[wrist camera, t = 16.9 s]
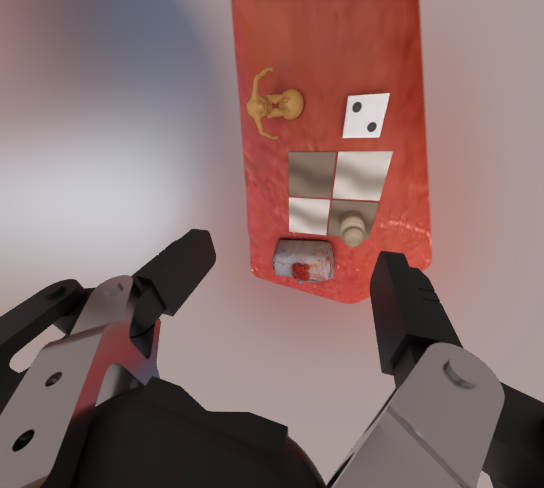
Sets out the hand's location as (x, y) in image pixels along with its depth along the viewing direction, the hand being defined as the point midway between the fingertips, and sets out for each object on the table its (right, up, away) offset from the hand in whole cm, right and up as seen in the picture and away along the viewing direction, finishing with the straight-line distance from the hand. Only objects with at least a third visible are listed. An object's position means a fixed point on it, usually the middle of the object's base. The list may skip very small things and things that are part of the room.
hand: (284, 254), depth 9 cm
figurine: (+2, +24, +23) cm, 34 cm away
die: (+14, +21, +21) cm, 33 cm away
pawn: (+16, +5, +31) cm, 36 cm away
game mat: (+12, +10, +30) cm, 34 cm away
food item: (+8, -1, +40) cm, 40 cm away
